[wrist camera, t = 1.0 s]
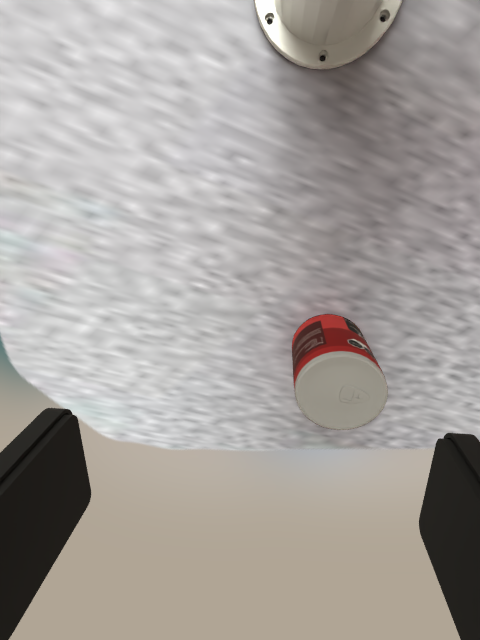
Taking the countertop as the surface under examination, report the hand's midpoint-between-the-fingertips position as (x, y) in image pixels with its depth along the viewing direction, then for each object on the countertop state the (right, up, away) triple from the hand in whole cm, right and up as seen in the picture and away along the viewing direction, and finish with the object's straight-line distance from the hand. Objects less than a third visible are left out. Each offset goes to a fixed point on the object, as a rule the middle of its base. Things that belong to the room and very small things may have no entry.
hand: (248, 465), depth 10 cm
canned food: (+10, +1, +33) cm, 35 cm away
